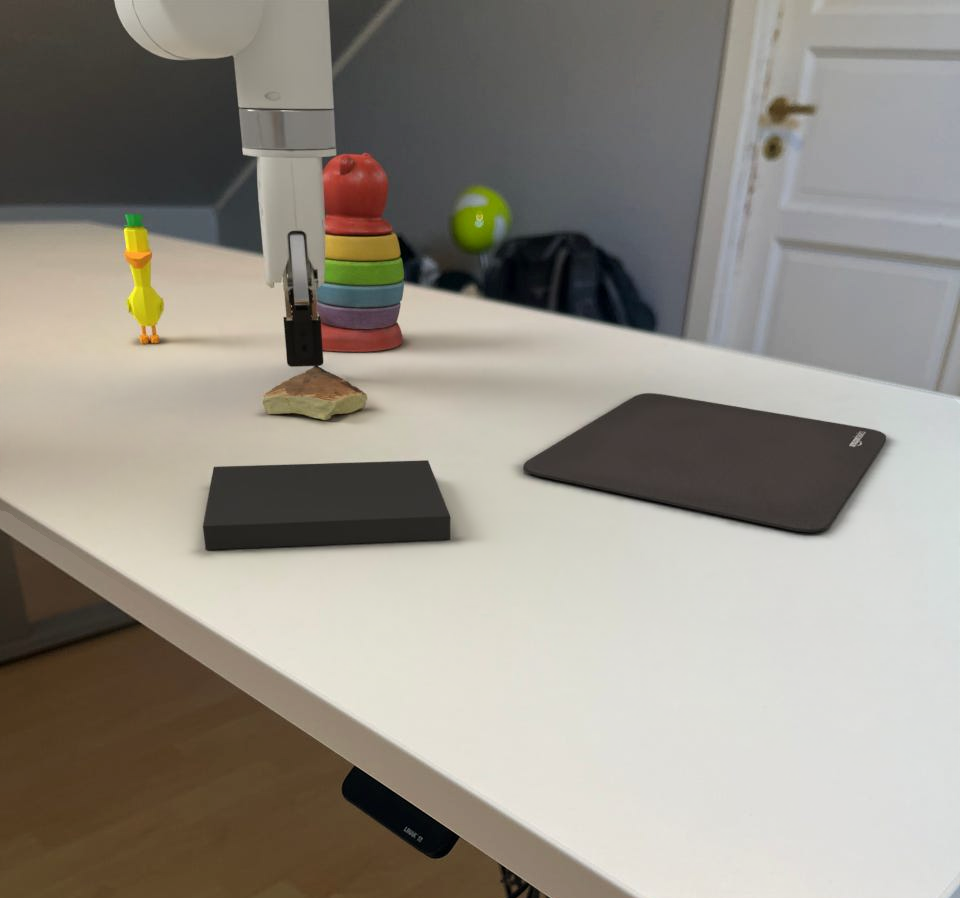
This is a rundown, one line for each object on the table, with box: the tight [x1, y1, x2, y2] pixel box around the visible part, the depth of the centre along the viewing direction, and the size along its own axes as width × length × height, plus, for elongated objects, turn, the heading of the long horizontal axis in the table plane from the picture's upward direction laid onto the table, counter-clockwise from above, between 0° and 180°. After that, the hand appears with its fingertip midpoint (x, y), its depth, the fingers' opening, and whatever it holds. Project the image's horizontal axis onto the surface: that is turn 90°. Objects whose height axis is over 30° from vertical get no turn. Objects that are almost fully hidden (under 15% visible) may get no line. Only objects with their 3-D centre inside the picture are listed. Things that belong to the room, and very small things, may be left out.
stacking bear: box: [316, 152, 405, 353], centre depth 98 cm, size 11×10×18 cm
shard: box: [261, 365, 368, 421], centre depth 82 cm, size 11×8×2 cm
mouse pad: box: [522, 392, 887, 533], centre depth 73 cm, size 25×21×1 cm
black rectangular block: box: [202, 459, 451, 551], centre depth 60 cm, size 14×10×2 cm
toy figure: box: [123, 213, 165, 345], centre depth 96 cm, size 7×4×12 cm, turn 14°
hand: (305, 363), depth 88 cm, fingers closed
